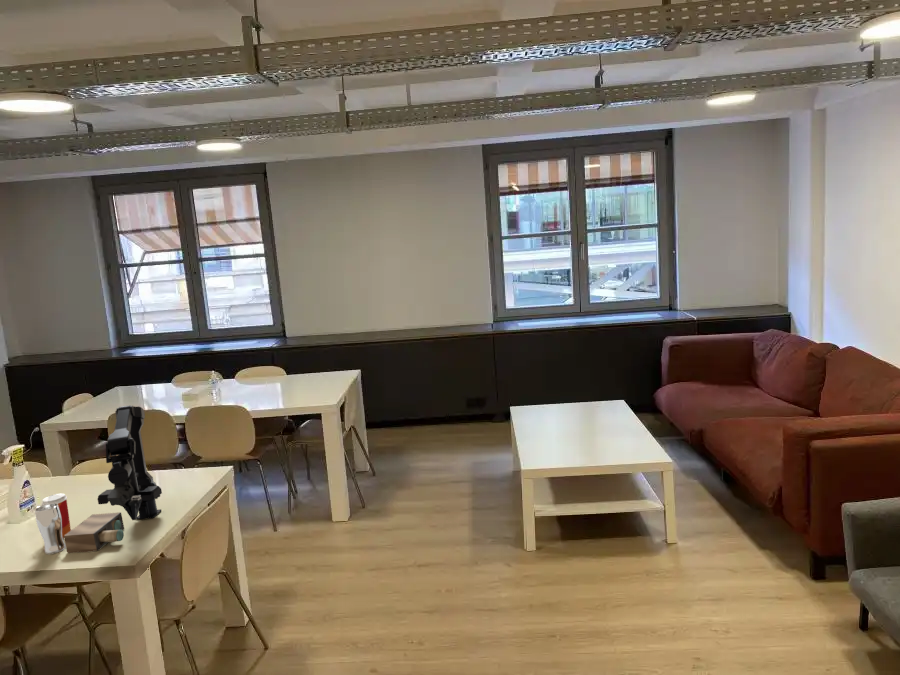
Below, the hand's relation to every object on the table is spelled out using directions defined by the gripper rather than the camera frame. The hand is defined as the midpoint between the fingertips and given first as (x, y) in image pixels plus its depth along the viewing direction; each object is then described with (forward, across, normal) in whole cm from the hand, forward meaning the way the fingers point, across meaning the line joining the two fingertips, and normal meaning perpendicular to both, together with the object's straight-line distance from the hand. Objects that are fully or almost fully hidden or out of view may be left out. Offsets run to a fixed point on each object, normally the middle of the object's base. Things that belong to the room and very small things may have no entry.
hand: (134, 519), depth 220 cm
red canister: (+8, -33, +10) cm, 35 cm away
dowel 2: (+7, -15, +8) cm, 19 cm away
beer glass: (+8, -28, -1) cm, 29 cm away
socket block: (+8, -17, +4) cm, 19 cm away
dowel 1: (+7, -10, 0) cm, 12 cm away
